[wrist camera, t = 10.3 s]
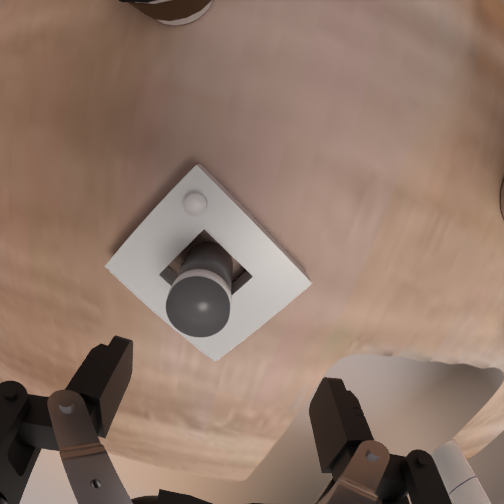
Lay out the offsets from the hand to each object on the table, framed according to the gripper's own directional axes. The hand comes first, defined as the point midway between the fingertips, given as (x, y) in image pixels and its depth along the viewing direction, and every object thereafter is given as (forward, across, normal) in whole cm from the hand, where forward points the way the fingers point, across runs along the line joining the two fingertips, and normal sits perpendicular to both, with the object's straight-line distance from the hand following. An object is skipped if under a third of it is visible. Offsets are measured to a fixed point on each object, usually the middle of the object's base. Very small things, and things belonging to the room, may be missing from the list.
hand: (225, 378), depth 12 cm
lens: (+21, +2, +4) cm, 22 cm away
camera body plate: (+21, +2, +4) cm, 22 cm away
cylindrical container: (+22, -57, +39) cm, 72 cm away
